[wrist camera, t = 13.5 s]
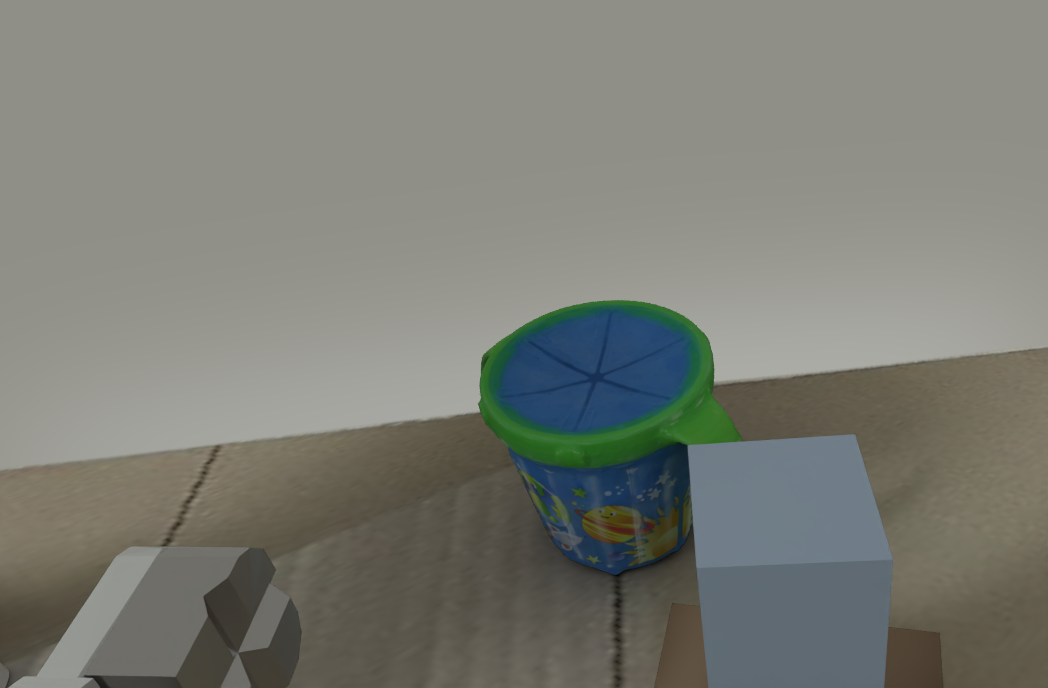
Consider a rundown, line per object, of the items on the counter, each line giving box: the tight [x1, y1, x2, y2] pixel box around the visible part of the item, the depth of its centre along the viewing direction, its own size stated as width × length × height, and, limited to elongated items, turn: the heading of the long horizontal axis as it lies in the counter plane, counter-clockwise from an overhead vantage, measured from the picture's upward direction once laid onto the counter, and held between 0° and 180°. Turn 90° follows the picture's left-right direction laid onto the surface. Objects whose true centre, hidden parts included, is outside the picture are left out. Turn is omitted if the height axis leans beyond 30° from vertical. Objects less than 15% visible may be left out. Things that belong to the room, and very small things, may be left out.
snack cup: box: [478, 300, 743, 575], centre depth 44 cm, size 16×10×10 cm
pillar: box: [688, 434, 893, 688], centre depth 29 cm, size 5×5×11 cm
